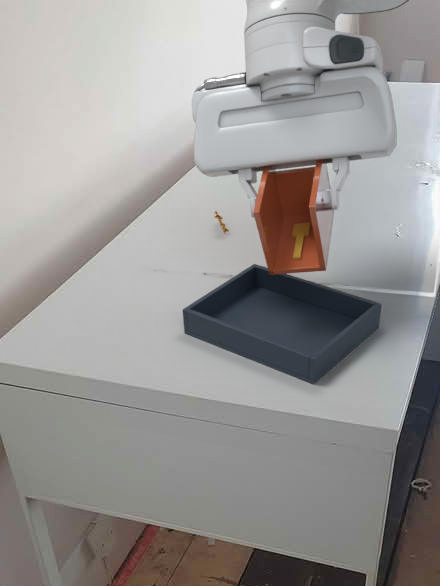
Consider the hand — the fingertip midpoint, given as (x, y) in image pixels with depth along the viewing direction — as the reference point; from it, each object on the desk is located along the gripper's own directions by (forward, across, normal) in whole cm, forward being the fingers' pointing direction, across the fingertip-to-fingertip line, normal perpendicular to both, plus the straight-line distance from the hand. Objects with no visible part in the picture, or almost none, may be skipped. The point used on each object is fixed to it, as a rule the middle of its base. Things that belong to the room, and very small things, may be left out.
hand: (295, 213), depth 73 cm
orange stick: (-2, -16, +26) cm, 30 cm away
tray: (+12, -3, +4) cm, 13 cm away
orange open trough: (+3, 0, +4) cm, 4 cm away
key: (+3, 0, +3) cm, 4 cm away
